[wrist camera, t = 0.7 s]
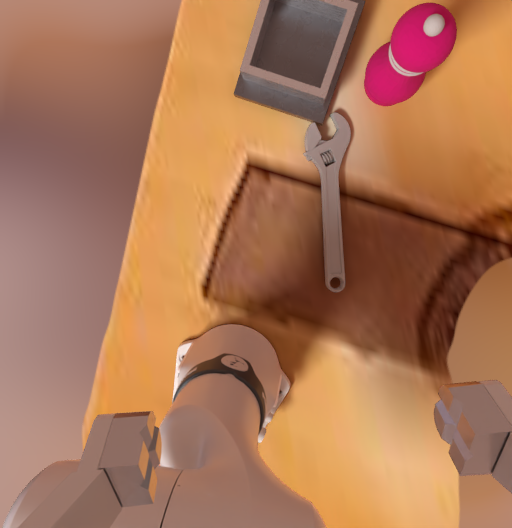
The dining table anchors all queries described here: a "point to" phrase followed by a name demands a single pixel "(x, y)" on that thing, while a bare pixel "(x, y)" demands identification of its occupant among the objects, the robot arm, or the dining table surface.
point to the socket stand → (297, 55)
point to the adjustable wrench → (330, 192)
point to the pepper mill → (410, 54)
